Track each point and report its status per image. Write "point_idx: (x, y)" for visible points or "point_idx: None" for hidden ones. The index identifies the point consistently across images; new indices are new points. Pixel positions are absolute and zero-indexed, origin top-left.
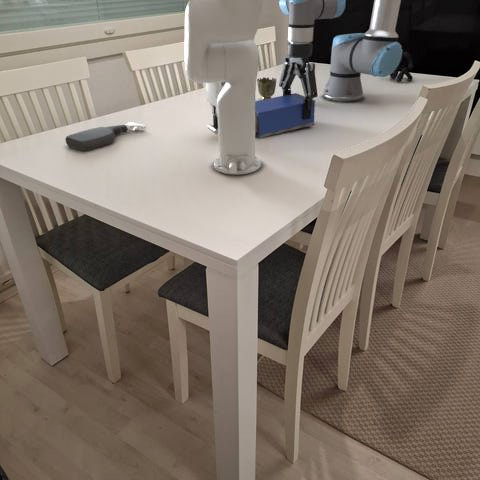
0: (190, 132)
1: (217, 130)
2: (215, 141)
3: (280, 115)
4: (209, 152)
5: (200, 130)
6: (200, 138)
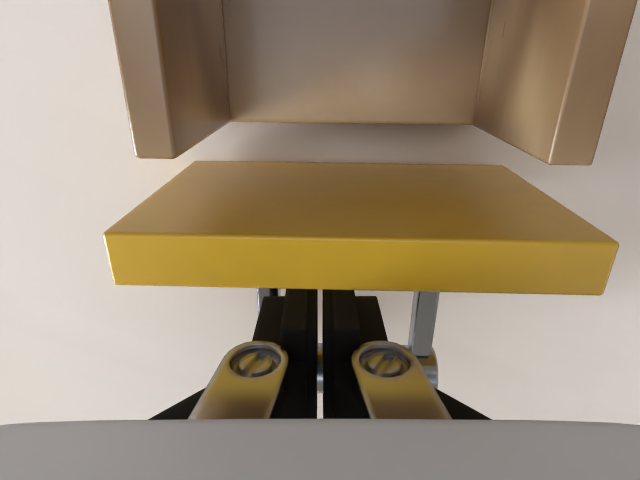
0: (104, 388)
1: (436, 373)
2: (388, 319)
3: None
4: None
5: (81, 314)
6: None
